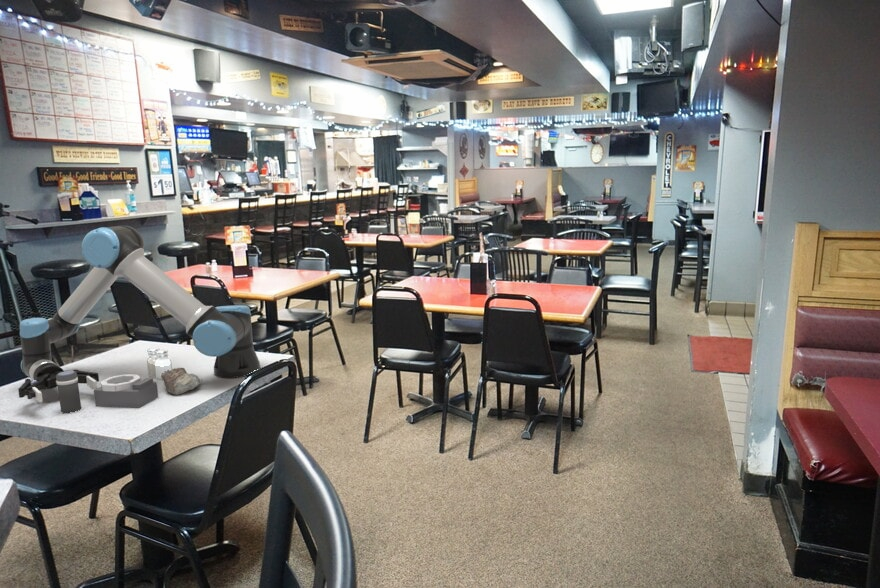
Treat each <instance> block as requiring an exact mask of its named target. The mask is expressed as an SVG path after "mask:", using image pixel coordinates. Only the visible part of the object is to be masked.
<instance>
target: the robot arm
mask: <svg viewBox="0 0 880 588" xmlns="http://www.w3.org/2000/svg"><path fill="white" fill-rule="evenodd" d="M144 248H145V240H144V238H143V236H142V234H141V233H140V232H139V231H138V230H137V229H136V228H134V227H131V226H129V225H116V226H115V225H114V226H109V227H108V226H107V227H103V226H102V227H99V228H96V229H93V230H90V231H89V232H88V233H86V235H85V236H84V238H83V240H82V241H81V253H82V257H83V259H84V260H85V261H86V262H87V264H88V265H91V266H92V267H93V268H92V269H91V270H90V271H89V272H88V274H87V275H86V276H85V277H84V279H83V280H82V281H81V282H80V283H79V285H78V286H77V287H76V289H75V290H73V292H72V293H71V294H70V296H69V297H68V298H67V300H65V302H64V303H63V304H62V305H61V306H60V308H59V309H58V311H56V313H55V314H54V315H53V317H52V318H50V319H47V318H45V317H31V318H26V319H22V320H21V321H20V323H19V338H20V343H21V344H20V345H21V352H22V355H21V356H22V360H21V362H20V370H21V371H22V372H23V374H24V375H25V376H26V377H28V378H25V379H24V383H22V385H20V387H18V389H17V391H18V398H24V397H26V396H27V400H32V399H35V400H36V401H37V402H38V403H39V404H40V403H43V393H42V390H47V389H48V390H51V389H56V388H58V387H57V383H56V375H57V374H58V373H61V372H64V371H65V370H64V369H63V368H62V367H61V366H59V365H58V364H56V363H55V362H54V361H53V360H52V359H53V358H52V349H51V344H53V343H56V342H59V341H61V340H64V339H65V338H69V337H72V336H73V335H74V334H76V333H77V332H78V331H79V330H80V325H81V322H82V321H83V320H84V318H85V317H86V316H87V315H88V314H89V313H90V311H91V310H92V309H93V308H94V306H96V304H97V303H98V302H99V301H100V300H101V298H102V297H103V296H104V294H106V293H107V291H108V290H109V289H110V287H111V286H112V285H113V284H114V282H116V281H117V280H118V278H125V279H126V280H127V281H128V282H129V283H131V284H132V285H134V286H135V287H136V288H137V289H138V290H140V291H141V292H142V293H144V295H146V296H147V297H148V298H150V299H151V300H152V302H155V303H156V304H157V305H159V307H161V308H162V309H163V310H164V311H166V312H167V313H168V314H170V316H172V317H173V318H175V320H177V321H179V322H180V324H182V325H183V326H185V333H186V335H187V336H189V337H190V338H191V339H192V341H193V345H194V348H195V349H196V350H197V351H198V352H199V353H201V354H202V355H204V356H207V357H210V358H211V357H213V358H215V359H214V365H213V373H214V375H215V376H216V377H219V378H224V379H226V378H228V379H229V378H230V379H231V378H232V377H233V378H241V377H245V376H244V375H247V374H249V373H251V372H253V371H254V370H257V369H259V368H260V369H261V363H260V359H259V357H258V355H257V352H256V350H255V349H254V342H253V341H254V339H253V327H252V313H251V309H250V307H249V306H247V305H241V304H238V305H222V306H216V307H215V306H214V305H205V304H204V303H202V302H201V301H200V300H199V299H198V298H196V297H195V296H194V295H193V294H191V293H190V292H189V291H187V290H186V289H185V288H184V287H182V286H181V285H180V284H179V283H178V282H176V281H175V280H174V279H172V278H171V277H170V276H169V275H168V274H166V273H165V272H164V271H163V270H162V269H160V268H159V267H158V266H156V264H155V263H153V262H151V261H150V260H149V259H148V258H147V257H145V250H144ZM72 371H76V372H77V377H78V384H85V385H86V386H88V387H89V388H90V389H92V390H93V391H94V390H95V389H97V388H98V382H99V381H100V378H99V377H100V376H99V372H94V371H93V372H92V371H84V370H79V369H72ZM247 376H248V375H247Z"/></svg>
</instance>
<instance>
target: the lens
mask: <svg viewBox="0 0 880 588" xmlns="http://www.w3.org/2000/svg"><path fill="white" fill-rule="evenodd" d="M63 371H64V372H61V373H58V374H57V375H56V383H57V387H56V388H57V393H58V398H59V399H58V400H59V406H60V412H63V413H62V414H64V413H67V414H71V413H70V412H74V413H76V412H75V411H77V412H79V411H81V410H82V409H81V408H82V402H81V395H80V386H79V383H78V377H77V372H76V371H73V370H66V371H65V370H63ZM80 409H81V410H80ZM78 410H79V411H78Z"/></svg>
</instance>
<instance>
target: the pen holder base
mask: <svg viewBox="0 0 880 588" xmlns="http://www.w3.org/2000/svg"><path fill="white" fill-rule="evenodd" d="M158 391H159V390H158V383H157V381H155V380H154V378H153V377H149V378H147V377H145V378H142V379H141V377H140V376H139V375H138V374H130V373H129V374H127V373H126V374H120V375H114V376H109V377H108V378H105V379H103V380H101V381H100V386H99V387H97V389H95V390H93V397H94V403H95V405H94V406H95V407H102V408H103V407H105V408H126V409H127V408H128V409H140V408H142V407H144V406H145V405H147V404H149V403H150V402H153V401H154V400H156V399H158V398H159V392H158Z"/></svg>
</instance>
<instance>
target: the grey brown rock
mask: <svg viewBox="0 0 880 588" xmlns="http://www.w3.org/2000/svg"><path fill="white" fill-rule="evenodd" d="M160 377H161V379H162V381H163V385H164V387H165V389H166V391H167V392H168V393H170V394H172V395H176V396H177V395H181V394H182V395H183V394H184V393H186V392H188V391H190V390H194V389H195V388H196V387H198V386H199V385H200V384H201V381H202V379H201V378H200V377H199V376H198V375H196V374H194V373H188V372H187V370H186V368H185V367H177V368H172V369H171V370H169V369H167V370H164V372H162V373H161V375H160Z"/></svg>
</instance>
